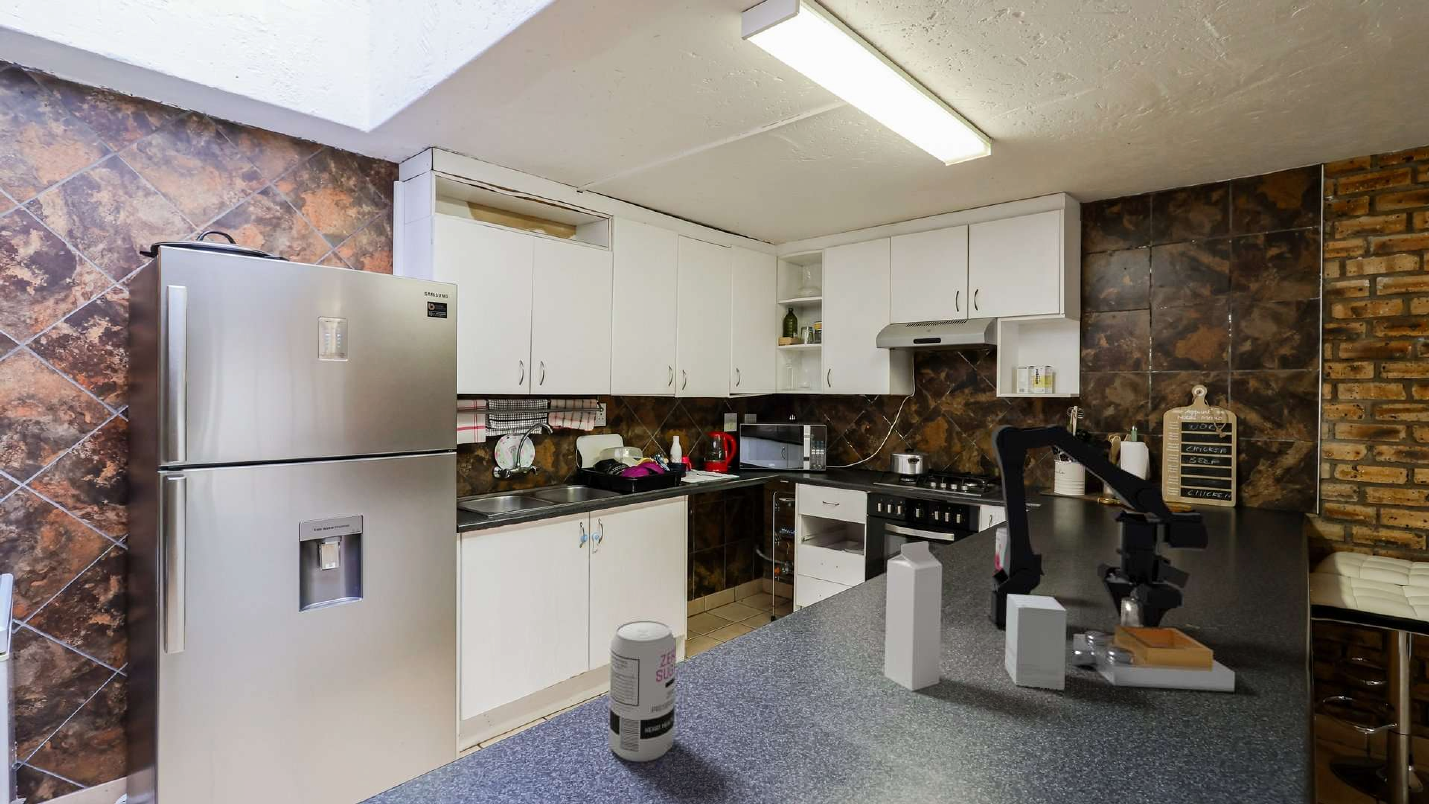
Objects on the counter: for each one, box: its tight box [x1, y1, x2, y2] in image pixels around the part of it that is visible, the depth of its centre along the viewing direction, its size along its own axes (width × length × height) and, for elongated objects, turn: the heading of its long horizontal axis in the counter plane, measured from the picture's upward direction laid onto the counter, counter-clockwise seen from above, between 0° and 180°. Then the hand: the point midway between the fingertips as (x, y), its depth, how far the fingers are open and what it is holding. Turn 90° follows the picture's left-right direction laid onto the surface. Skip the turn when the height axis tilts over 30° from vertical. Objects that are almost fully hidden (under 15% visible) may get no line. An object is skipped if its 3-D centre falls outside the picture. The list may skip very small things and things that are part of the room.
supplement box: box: [1004, 594, 1068, 691], centre depth 107 cm, size 7×7×13 cm
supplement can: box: [608, 620, 677, 763], centre depth 85 cm, size 8×8×15 cm
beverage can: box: [993, 527, 1007, 591], centre depth 150 cm, size 6×7×15 cm
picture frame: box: [1070, 625, 1236, 692], centre depth 112 cm, size 21×14×6 cm, turn 86°
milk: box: [884, 541, 943, 692], centre depth 105 cm, size 6×6×22 cm
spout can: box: [1120, 595, 1143, 627], centre depth 126 cm, size 7×5×8 cm
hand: (1135, 627), depth 126 cm, fingers open, 9 cm apart
